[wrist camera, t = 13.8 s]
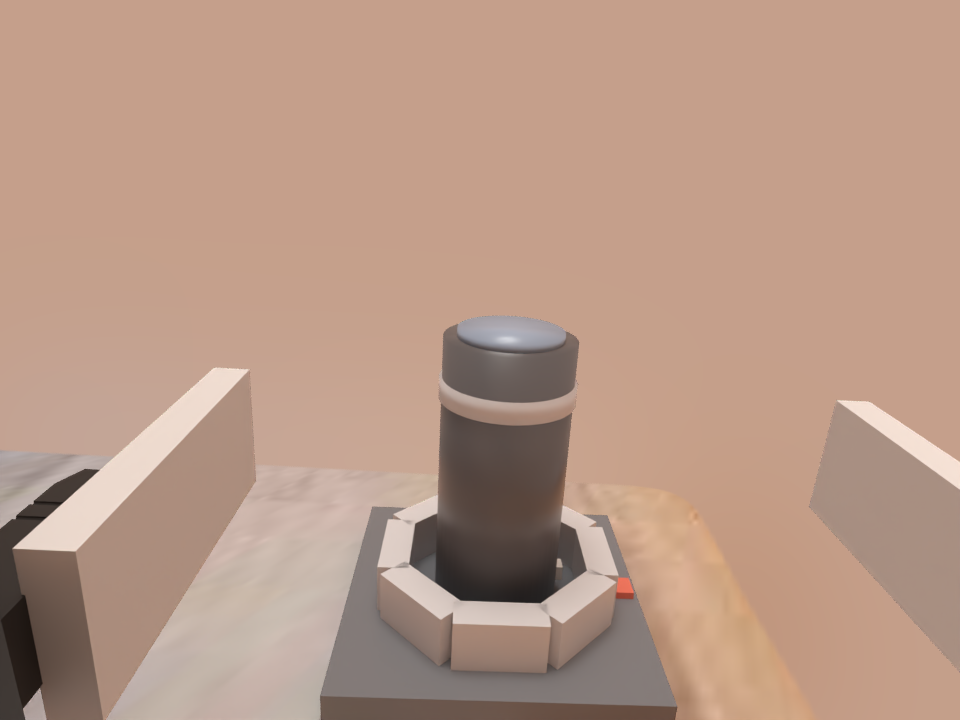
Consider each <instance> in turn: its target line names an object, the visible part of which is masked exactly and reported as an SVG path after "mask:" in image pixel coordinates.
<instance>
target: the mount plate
mask: <svg viewBox="0 0 960 720" xmlns="http://www.w3.org/2000/svg"><path fill="white" fill-rule="evenodd" d="M437 508H438V494H437V495H435V496H433V497H431V498H428V499H426V500H424V501H422V502H419V503H417V504H415V505H413V506H410V507H408V508H395V507H372V510H371V514H370V517H369V521H368V525H367V528H366V532H365V536H364V539H363V543H362V546H361V550H360V554H359V557H358V561H357V565H356V568H355V572H354V575H353V579H352V583H351V586H350V590H349V594H348V597H347V601H346V604H345V608H344V612H343V615H342V619H341V623H340V626H339V630H338V634H337V637H336V641H335V644H334V648H333V652H332V655H331V659H330V663H329V666H328V670H327V673H326V677H325V681H324V684H323V688H322V692H321V695H320V703H321V720H675V716H676V711H677V705H676V702H675V699H674V696H673V694H672V691H671V688H670V685H669V683H668V680H667V677H666V674H665V672H664V669H663V666H662V664H661V661H660V658H659V655H658V653H657V650H656V647H655V644H654V642H653V639H652V636H651V634H650V631H649V628H648V625H647V623H646V620H645V617H644V614H643V612H642V609H641V606H640V603H639V601H638V598H637V595H636V593H635V590H634V587H633V584H632V582H631V579H630V576H629V573H628V571H627V568H626V565H625V563H624V560H623V557H622V554H621V552H620V549H619V546H618V543H617V541H616V538H615V535H614V532H613V530H612V527H611V524H610V522H609V519H608V516H607V515H582V514H580V513H578V512H576V511H574V510H572V509H570V508H568V507H566V506H564V505H563V507H562V516H561V526H560V536H559V546H558V556H557V559H561V562H562V566H563V570H562V579H561V580H555V586H554V594H553V595H552V596H550V597H549V598H547V599H546V600H545V601H543V602H542V603H511V602H481V601H460V600H459V599H457V598H456V597H454V596H453V595H452V594H450V593H449V592H447V591H446V590H445V589H443V588H442V587H440V586H439V585H438V584H436V583H435V568H436V538H437Z"/></svg>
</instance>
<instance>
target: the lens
mask: <svg viewBox="0 0 960 720" xmlns="http://www.w3.org/2000/svg"><path fill="white" fill-rule="evenodd" d="M578 348H579V341H578V339H577V338H576V337H575V336H574V335H572V334H570V333H568V332H566V331H565V330H563V328H561V327H559V326H557V325H555V324H552V323H550V322H546V321H542V320H538V319H532V318H526V317H517V316H484V317H477V318H471V319H467V320H465V321H462V322H461V323H459V324H457V325H454V326H452V327H450V328H448V329H447V330H446V331H445V332H444V334H443V361H442V371H441V372H440V375H439V400H440V402H441V419H440V449H439V450H440V451H439V478H438V508H437V538H436V568H435V583H436V584H438V585H439V586H440V587H442V588H443V589H445V590H446V591H447V592H449V593H450V594H452V595H453V596H454V597H456V598H457V599H459V600H460V601H481V602H511V603H542V602H543V601H545V600H546V599H547V598H549V597H550V596H552V595H553V594H554V586H555V580H561V579H562V570H563V566H562V562H561V559H557V556H558V546H559V536H560V526H561V516H562V507H563V497H564V487H565V477H566V467H567V457H568V447H569V437H570V427H571V417H572V412H573V410H574V408H575V404H576V395H577V384H578V383H577V380H576V379H575V378H576V368H577V358H578Z"/></svg>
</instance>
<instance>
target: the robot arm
mask: <svg viewBox="0 0 960 720" xmlns="http://www.w3.org/2000/svg"><path fill="white" fill-rule="evenodd" d="M255 481H256V473H255V456H254V440H253V422H252V405H251V387H250V371H249V369H229V368H214V369H212V370H211V371H210V372H209V373H208V374H207V375H206V376H204V377H203V378H202V379H201V380H200V381H199V382H198V383H197V384H196V385H195V386H194V387H192V388H191V389H190V390H189V391H188V392H187V393H185V394H184V395H183V396H182V397H181V398H180V399H179V400H178V401H177V402H176V403H174V404H173V405H172V406H171V407H170V408H169V409H168V410H166V411H165V412H164V413H163V414H162V415H161V416H160V417H159V418H158V419H156V420H155V421H154V422H153V423H152V424H151V425H150V426H149V427H148V428H146V429H145V430H144V431H143V432H142V433H141V434H140V435H139V436H137V437H136V439H134V440H133V441H132V442H131V443H130V444H129V445H127V446H126V447H125V448H124V449H123V450H122V451H121V452H120V453H118V454H117V455H116V456H115V457H114V458H113V459H112V460H111V461H110V462H108V463H107V464H106V465H105V466H104V467H103V468H102V469H101V470H92V469H84V470H82V471H80V472H78V473H76V474H74V475H72V476H70V477H67V478H65V479H63V480H61V481H59V482H57V483H55V484H54V485H53V486H51V487H50V488H49V489H48V490H46V491H45V492H44V493H43V494H42V495H40V496H39V497H38V498H37V499H36V500H34V504H33V505H31V504H30V505H28V506H27V507H26V508H25V509H24V510H22V511H21V512H20V513H19V514H18V515H16V519H12V520H10V521H9V522H8V523H7V524H6V525H4V526H3V527H2V528H1V529H0V720H25V717H24V713H23V708H24V707H25V706H26V704H27V703H28V702H29V701H30V699H31V698H32V697H33V695H34V694H35V693H36V692H37V690H38V689H39V688H40V689H41V694H42V699H43V704H44V709H45V713H46V718H47V720H106V718H107V717H108V715H109V713H110V712H111V710H112V709H113V707H114V705H115V704H116V702H117V701H118V699H119V698H120V696H121V694H122V693H123V691H124V690H125V688H126V686H127V685H128V683H129V682H130V680H131V678H132V677H133V675H134V674H135V672H136V671H137V669H138V667H139V666H140V664H141V663H142V661H143V659H144V658H145V656H146V655H147V653H148V651H149V650H150V648H151V647H152V645H153V643H154V642H155V640H156V639H157V637H158V636H159V634H160V632H161V631H162V629H163V628H164V626H165V624H166V623H167V621H168V620H169V618H170V616H171V615H172V613H173V612H174V610H175V609H176V607H177V605H178V604H179V602H180V601H181V599H182V597H183V596H184V594H185V593H186V591H187V589H188V588H189V586H190V585H191V583H192V581H193V580H194V578H195V577H196V575H197V574H198V572H199V570H200V569H201V567H202V566H203V564H204V562H205V561H206V559H207V558H208V556H209V554H210V553H211V551H212V550H213V548H214V546H215V545H216V543H217V542H218V540H219V539H220V537H221V535H222V534H223V532H224V531H225V529H226V527H227V526H228V524H229V523H230V521H231V519H232V518H233V516H234V515H235V513H236V512H237V510H238V508H239V507H240V505H241V504H242V502H243V500H244V499H245V497H246V496H247V494H248V492H249V491H250V489H251V488H252V486H253V484H254V483H255ZM809 507H810V508H811V509H812V510H813V511H814V513H815V514H816V515H817V516H818V517H819V518H820V519H821V520H822V521H823V523H824V524H825V525H826V526H827V527H828V528H829V529H830V530H831V531H832V532H833V533H834V535H835V536H836V537H837V538H838V539H839V540H840V541H841V542H842V543H843V545H844V546H845V547H846V548H847V549H848V550H849V551H850V552H851V553H852V554H853V555H854V557H855V558H856V559H857V560H858V561H859V562H860V563H861V564H862V565H863V566H864V567H865V569H866V570H867V571H868V572H869V573H870V574H871V575H872V576H873V577H874V579H875V580H876V581H877V582H878V583H879V584H880V585H881V586H882V587H883V588H884V590H885V591H886V592H887V593H888V594H889V595H890V596H891V597H892V598H893V599H894V601H896V603H897V604H898V605H899V606H900V607H901V608H902V609H903V610H904V611H905V613H906V614H907V615H908V616H909V617H910V618H911V619H912V620H913V621H914V623H915V624H916V625H917V626H918V627H919V628H920V629H921V630H922V631H923V632H924V634H925V635H926V636H927V637H928V638H929V639H930V640H931V641H932V642H933V643H934V644H935V646H936V647H937V648H938V649H939V650H940V651H941V652H942V653H943V654H944V656H946V658H947V659H948V660H949V661H950V662H951V663H952V664H953V665H954V667H955V668H956V669H957V670H958V671H959V672H960V462H959V461H957V460H956V459H954V458H953V457H951V456H950V455H948V454H947V453H945V452H944V451H942V450H941V449H939V448H938V447H936V446H935V445H933V444H932V443H930V442H929V441H927V440H925V439H924V438H923V437H921V436H920V435H918V434H917V433H915V432H914V431H912V430H911V429H909V428H908V427H906V426H905V425H903V424H902V423H900V422H899V421H897V420H896V419H894V418H893V417H891V416H890V415H888V414H887V413H885V412H884V411H882V410H881V409H879V408H878V407H876V406H875V405H873V404H872V403H871V402H862V401H842V400H836V404H835V407H834V411H833V415H832V419H831V423H830V427H829V431H828V435H827V439H826V443H825V447H824V451H823V455H822V458H821V462H820V467H819V470H818V474H817V478H816V482H815V486H814V490H813V494H812V498H811V501H810V506H809Z"/></svg>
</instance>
